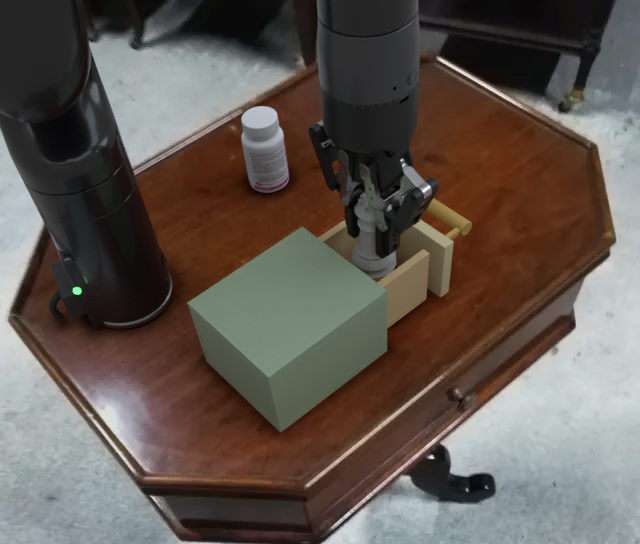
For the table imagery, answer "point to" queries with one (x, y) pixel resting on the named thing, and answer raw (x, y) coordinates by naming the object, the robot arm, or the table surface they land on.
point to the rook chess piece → (369, 244)
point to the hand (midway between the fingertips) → (372, 241)
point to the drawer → (412, 259)
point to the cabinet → (291, 326)
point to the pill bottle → (264, 149)
